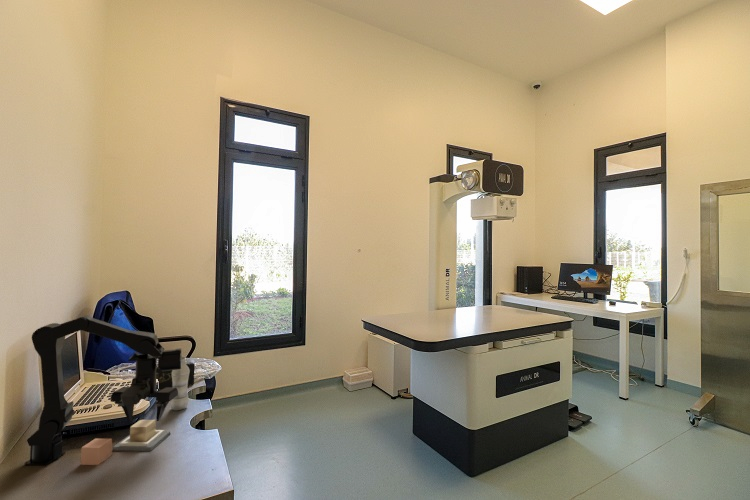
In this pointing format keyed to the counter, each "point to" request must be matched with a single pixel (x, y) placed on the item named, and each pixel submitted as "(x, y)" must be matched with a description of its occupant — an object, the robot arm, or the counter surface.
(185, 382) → the plastic bottle
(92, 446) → the terracotta block
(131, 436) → the maple block
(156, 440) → the baseplate
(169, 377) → the nameplate
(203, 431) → the counter surface
